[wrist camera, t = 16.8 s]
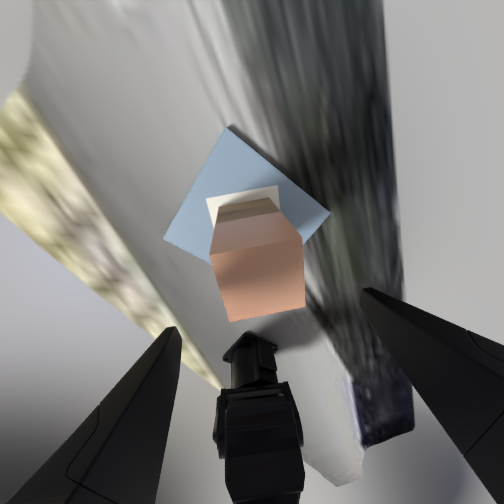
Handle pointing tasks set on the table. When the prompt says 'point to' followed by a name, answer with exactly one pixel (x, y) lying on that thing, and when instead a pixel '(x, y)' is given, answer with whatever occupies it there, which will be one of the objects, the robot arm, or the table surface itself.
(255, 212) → the walnut block
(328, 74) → the table surface
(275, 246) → the terracotta block
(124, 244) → the table surface
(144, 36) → the table surface
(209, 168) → the board
